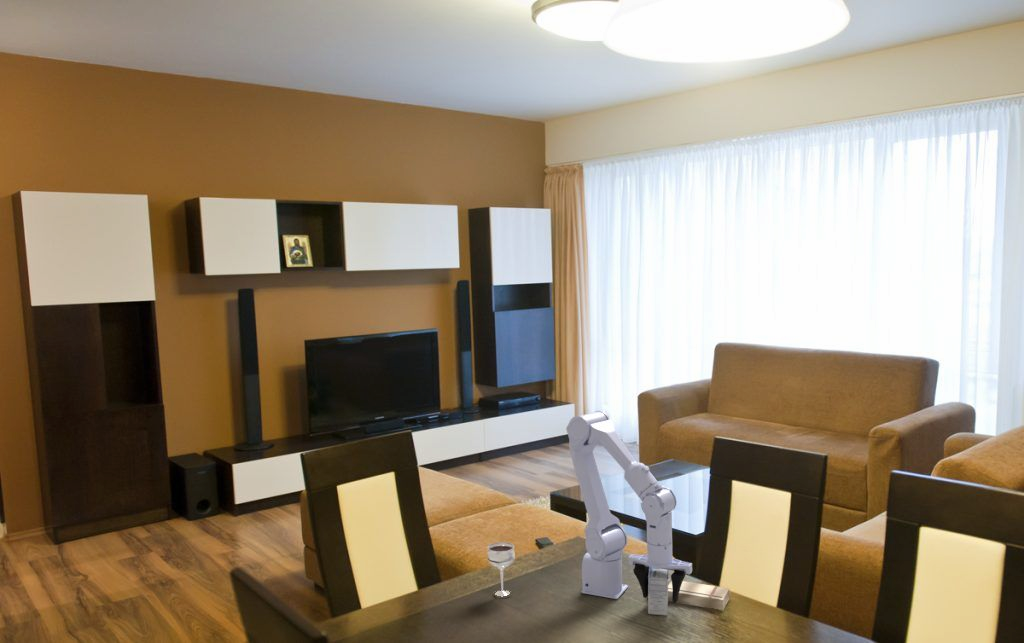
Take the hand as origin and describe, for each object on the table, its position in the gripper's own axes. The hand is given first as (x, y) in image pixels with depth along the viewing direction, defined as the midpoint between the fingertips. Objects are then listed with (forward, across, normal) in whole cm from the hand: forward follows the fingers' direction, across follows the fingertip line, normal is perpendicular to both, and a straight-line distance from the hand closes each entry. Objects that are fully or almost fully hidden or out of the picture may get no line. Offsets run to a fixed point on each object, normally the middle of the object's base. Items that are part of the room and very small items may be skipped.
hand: (660, 598), depth 178 cm
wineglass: (+3, -38, -8) cm, 39 cm away
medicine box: (+2, -1, 0) cm, 3 cm away
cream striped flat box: (+2, +4, +8) cm, 10 cm away
